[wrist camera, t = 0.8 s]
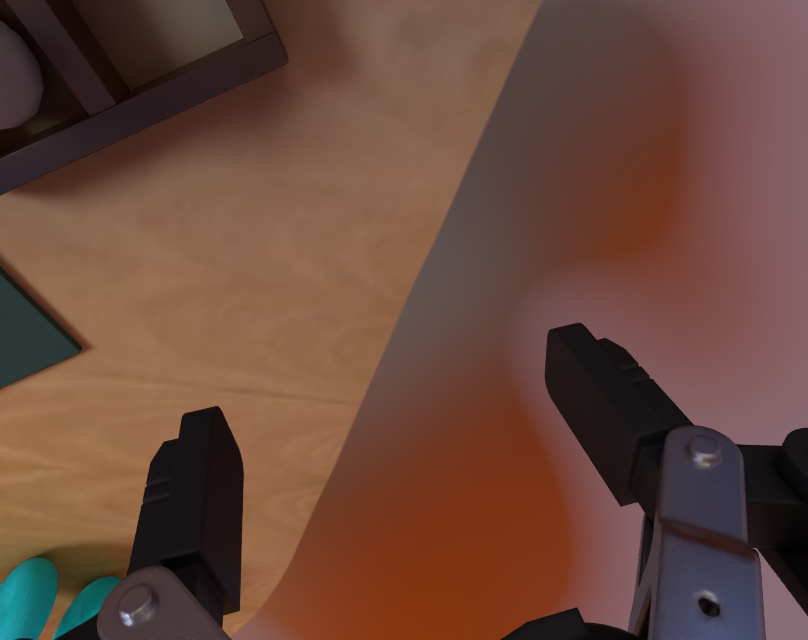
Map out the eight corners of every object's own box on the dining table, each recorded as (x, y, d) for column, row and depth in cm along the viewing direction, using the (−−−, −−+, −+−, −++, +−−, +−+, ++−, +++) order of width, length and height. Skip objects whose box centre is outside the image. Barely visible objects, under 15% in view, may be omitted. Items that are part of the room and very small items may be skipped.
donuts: (89, 610, 57) (61, 717, 49) (-12, 587, 52) (-62, 704, 44) (143, 561, 54) (122, 666, 46) (43, 532, 49) (0, 646, 41)
